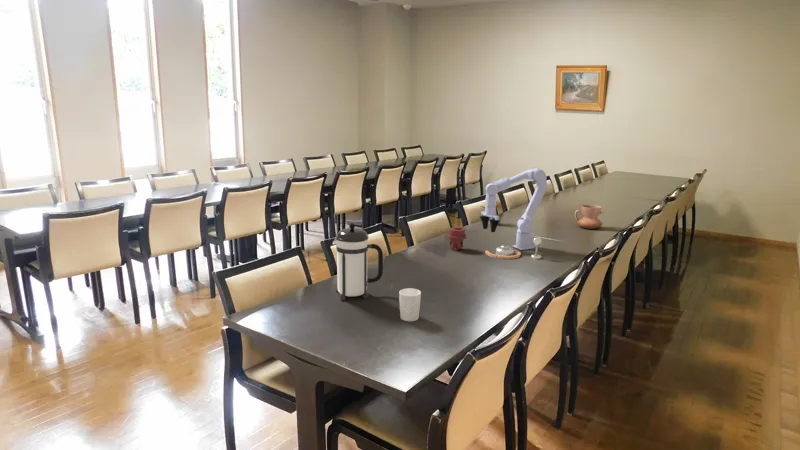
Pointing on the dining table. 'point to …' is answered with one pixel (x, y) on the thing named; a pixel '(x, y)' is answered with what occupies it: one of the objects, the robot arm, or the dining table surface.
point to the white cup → (409, 304)
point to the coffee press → (354, 262)
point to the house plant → (484, 209)
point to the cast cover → (504, 250)
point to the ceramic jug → (589, 216)
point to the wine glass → (537, 243)
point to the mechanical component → (456, 237)
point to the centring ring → (504, 256)
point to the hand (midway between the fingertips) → (489, 230)
